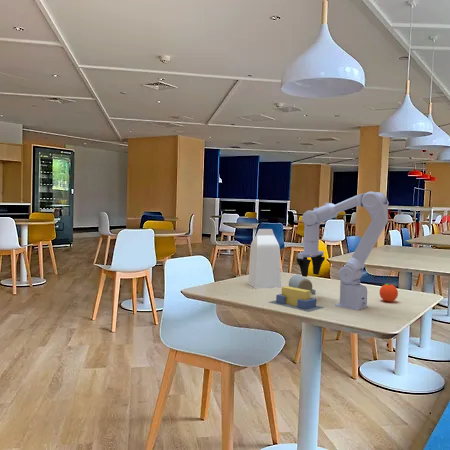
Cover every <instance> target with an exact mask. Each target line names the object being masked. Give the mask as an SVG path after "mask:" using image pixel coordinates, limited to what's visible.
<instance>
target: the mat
mask: <svg viewBox="0 0 450 450" xmlns="http://www.w3.org/2000/svg"><path fill="white" fill-rule="evenodd" d="M268 303H270V304H273V305H277V306H278V305H279V306H282V307H286V308H290V309H294V310H299V311H302V312H303V311H304V312H307V313H309V312H313V311H317V310H321V309H324V308H325V306H320V305H316V307H314V308H310V309H306V310H305V309H301V308H297V306H294V305H289V304H280V303H276V300H272V301H268Z"/></svg>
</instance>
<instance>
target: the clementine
mask: <svg viewBox="0 0 450 450" xmlns="http://www.w3.org/2000/svg"><path fill="white" fill-rule="evenodd" d="M379 296H380V298H381V299H382V300H383V301H384V302H388V303H389V302H390V303H391V302H393V301H395V300H396V299H397V298H398V296H399V291H398V288H397V287H396V286H395V285H394V284H391V283H383V284H382V285H381V287H380V288H379Z"/></svg>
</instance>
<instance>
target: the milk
mask: <svg viewBox="0 0 450 450" xmlns="http://www.w3.org/2000/svg"><path fill="white" fill-rule="evenodd" d="M248 263H249V264H248V280H247V284H248V285H250V286H251V287H252V288H254V289H255V290H257V289H258V290H259V289H273V288H277V289H278V288H279V289H282V281H281V279H282V277H281V276H282V275H281V273H282V271H281V248H280V244H279V242H278V240H277V238H276V235H275V234H274V230H273V229H272V228H259V229H258V230H257V232H256V234H255V236H254V238H253V239H252V241H251V243H250V251H249V262H248Z"/></svg>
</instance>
